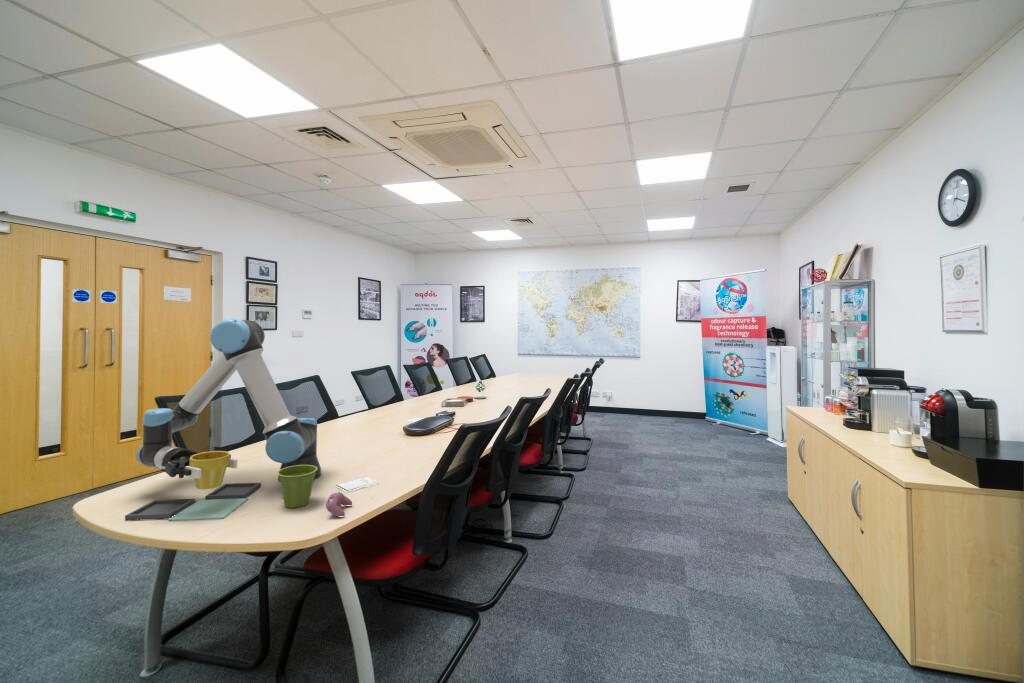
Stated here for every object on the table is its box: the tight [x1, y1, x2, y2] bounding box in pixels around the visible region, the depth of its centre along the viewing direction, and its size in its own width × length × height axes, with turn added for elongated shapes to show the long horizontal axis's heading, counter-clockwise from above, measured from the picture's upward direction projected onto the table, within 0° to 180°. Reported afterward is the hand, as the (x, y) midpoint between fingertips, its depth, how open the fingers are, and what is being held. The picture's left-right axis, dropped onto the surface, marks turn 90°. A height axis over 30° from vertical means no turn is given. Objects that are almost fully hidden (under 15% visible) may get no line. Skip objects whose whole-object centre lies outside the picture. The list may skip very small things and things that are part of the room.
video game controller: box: [325, 491, 353, 517], centre depth 130 cm, size 10×5×7 cm, turn 6°
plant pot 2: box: [276, 465, 318, 509], centre depth 136 cm, size 12×12×11 cm
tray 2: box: [204, 482, 262, 500], centre depth 144 cm, size 12×12×2 cm
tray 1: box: [124, 498, 196, 521], centre depth 128 cm, size 12×12×2 cm
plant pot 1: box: [189, 450, 231, 490], centre depth 130 cm, size 10×10×10 cm
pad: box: [167, 497, 249, 521], centre depth 130 cm, size 15×15×1 cm
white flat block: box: [335, 476, 379, 491], centre depth 154 cm, size 2×8×12 cm
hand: (218, 468), depth 129 cm, fingers closed on plant pot 1, 10 cm apart
